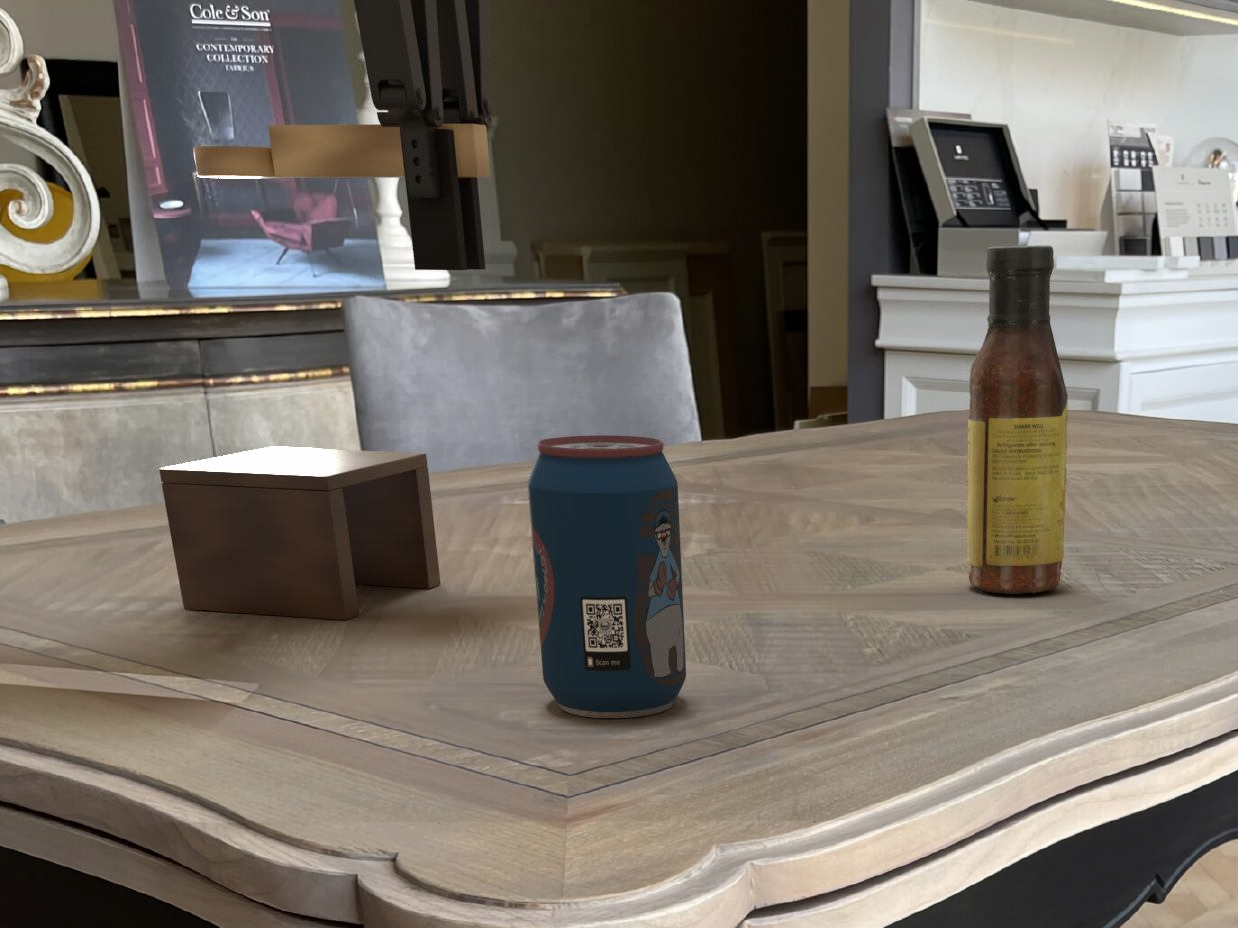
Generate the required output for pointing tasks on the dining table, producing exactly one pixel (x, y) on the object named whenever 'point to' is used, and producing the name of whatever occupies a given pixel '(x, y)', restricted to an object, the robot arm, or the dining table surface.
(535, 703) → the dining table surface
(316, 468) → the shelf
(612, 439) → the soda can
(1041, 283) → the sauce bottle
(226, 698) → the dining table surface
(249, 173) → the wooden stepped block
